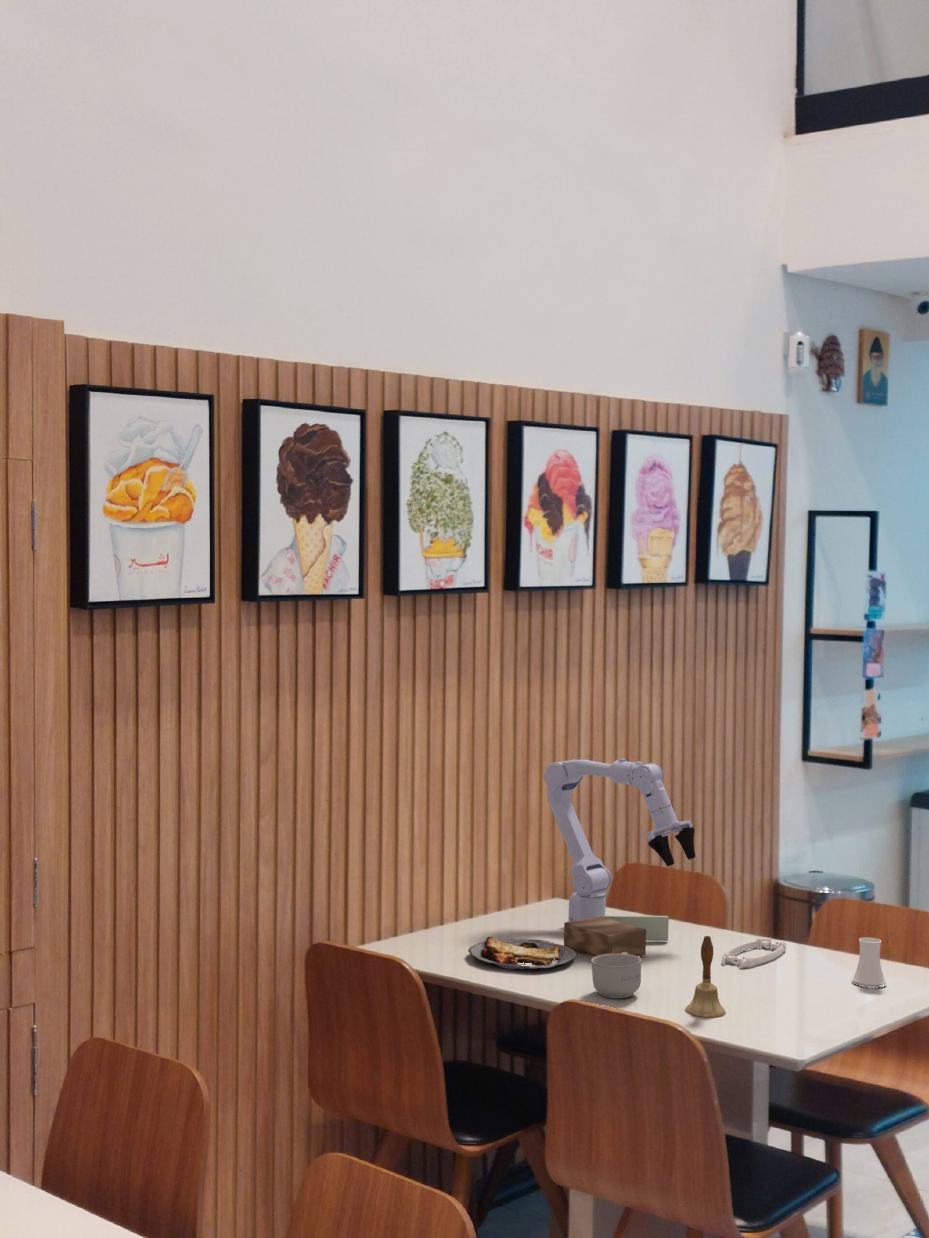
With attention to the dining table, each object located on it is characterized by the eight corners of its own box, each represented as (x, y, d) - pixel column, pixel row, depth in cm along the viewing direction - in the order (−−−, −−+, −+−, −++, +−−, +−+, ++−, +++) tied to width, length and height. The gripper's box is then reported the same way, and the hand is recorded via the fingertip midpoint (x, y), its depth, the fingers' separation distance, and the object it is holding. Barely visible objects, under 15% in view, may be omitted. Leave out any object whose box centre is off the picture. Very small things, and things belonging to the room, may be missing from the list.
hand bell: (730, 1017, 296) (732, 941, 296) (690, 1017, 295) (692, 940, 295) (720, 1005, 304) (722, 931, 304) (681, 1005, 304) (683, 931, 303)
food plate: (456, 965, 331) (456, 950, 331) (484, 943, 353) (485, 928, 353) (561, 980, 323) (562, 964, 323) (583, 956, 346) (584, 941, 346)
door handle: (795, 952, 352) (750, 972, 332) (758, 945, 358) (712, 965, 338) (796, 941, 352) (751, 961, 332) (759, 934, 358) (712, 953, 338)
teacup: (627, 1005, 303) (628, 967, 303) (581, 996, 309) (582, 959, 309) (654, 990, 315) (655, 953, 315) (610, 981, 321) (611, 946, 321)
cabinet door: (601, 940, 356) (601, 916, 356) (599, 937, 359) (600, 914, 358) (668, 940, 357) (668, 917, 357) (666, 938, 359) (666, 914, 359)
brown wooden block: (563, 948, 349) (564, 922, 349) (600, 941, 356) (600, 916, 356) (608, 963, 336) (609, 936, 336) (645, 955, 344) (646, 929, 343)
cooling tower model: (876, 978, 328) (878, 935, 328) (892, 988, 321) (893, 943, 320) (846, 979, 327) (847, 936, 326) (860, 988, 319) (861, 944, 319)
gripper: (650, 810, 348) (671, 863, 345) (691, 799, 357) (712, 850, 354) (632, 819, 353) (653, 871, 350) (673, 808, 362) (693, 859, 359)
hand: (681, 861), depth 352 cm, fingers open, 7 cm apart
